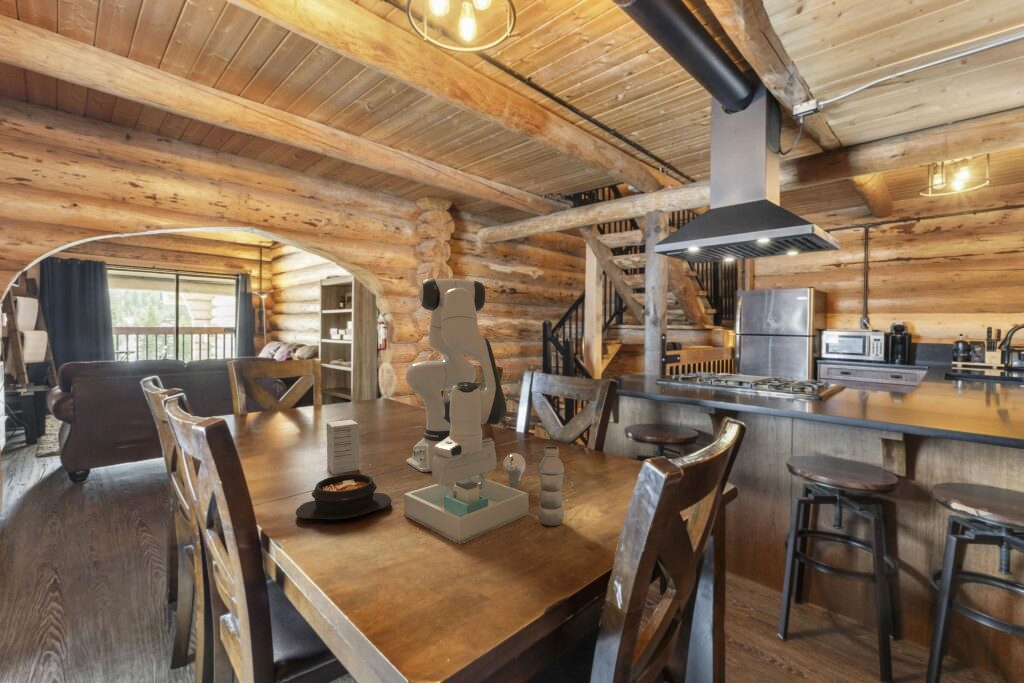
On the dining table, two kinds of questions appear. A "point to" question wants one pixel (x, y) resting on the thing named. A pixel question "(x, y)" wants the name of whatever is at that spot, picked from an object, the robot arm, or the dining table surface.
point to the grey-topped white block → (466, 491)
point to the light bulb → (514, 469)
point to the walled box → (466, 509)
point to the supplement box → (342, 446)
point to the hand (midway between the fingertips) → (466, 493)
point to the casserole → (343, 498)
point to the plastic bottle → (551, 488)
